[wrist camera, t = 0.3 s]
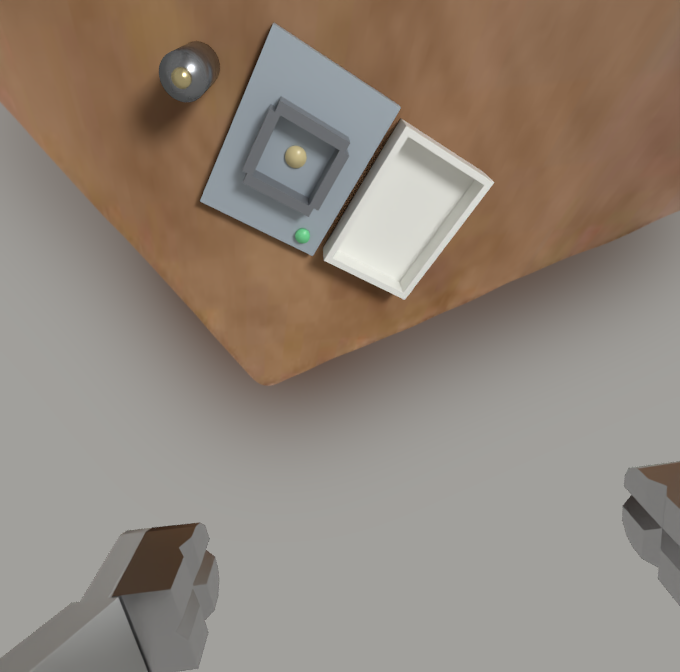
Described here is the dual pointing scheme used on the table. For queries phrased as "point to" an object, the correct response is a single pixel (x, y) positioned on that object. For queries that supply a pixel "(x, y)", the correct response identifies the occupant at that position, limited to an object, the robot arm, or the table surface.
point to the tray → (405, 211)
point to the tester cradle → (297, 143)
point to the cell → (189, 71)
